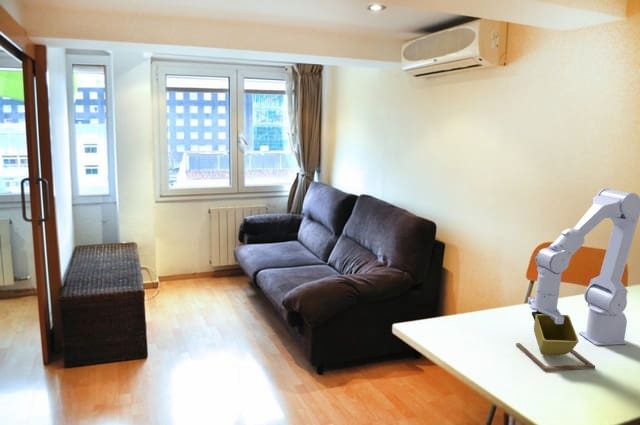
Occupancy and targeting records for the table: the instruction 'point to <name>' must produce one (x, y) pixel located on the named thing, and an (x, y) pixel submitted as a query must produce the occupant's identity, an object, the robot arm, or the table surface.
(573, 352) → the brown wooden open-sided frame
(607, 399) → the table surface
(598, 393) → the table surface
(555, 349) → the flower pot
